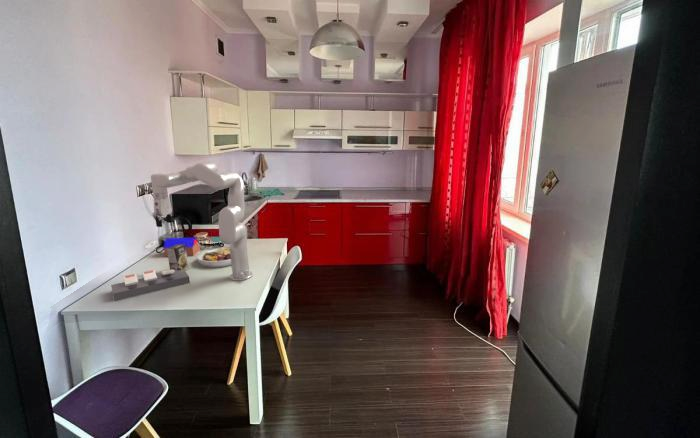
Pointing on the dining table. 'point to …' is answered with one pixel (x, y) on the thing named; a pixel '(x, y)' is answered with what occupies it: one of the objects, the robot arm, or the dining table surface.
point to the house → (190, 243)
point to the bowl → (215, 257)
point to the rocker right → (167, 272)
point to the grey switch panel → (150, 285)
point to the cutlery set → (216, 240)
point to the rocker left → (130, 280)
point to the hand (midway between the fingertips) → (164, 224)
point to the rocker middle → (149, 275)
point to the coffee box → (177, 257)
